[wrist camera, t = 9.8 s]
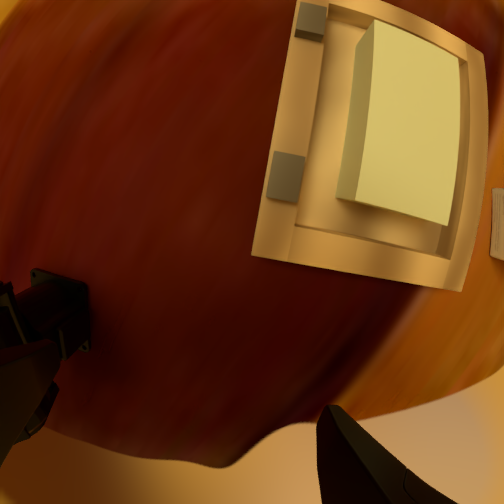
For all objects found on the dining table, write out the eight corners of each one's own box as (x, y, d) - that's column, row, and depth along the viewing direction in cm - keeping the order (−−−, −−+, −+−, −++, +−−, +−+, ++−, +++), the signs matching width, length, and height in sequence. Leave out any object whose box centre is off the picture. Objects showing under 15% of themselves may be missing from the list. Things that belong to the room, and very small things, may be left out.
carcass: (252, 244, 19) (250, 259, 15) (296, 0, 15) (302, -30, 11) (440, 279, 19) (468, 296, 15) (463, 64, 15) (490, 50, 11)
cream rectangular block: (334, 197, 17) (354, 200, 13) (355, 46, 15) (374, 19, 11) (414, 218, 17) (447, 226, 13) (429, 75, 15) (458, 58, 11)
